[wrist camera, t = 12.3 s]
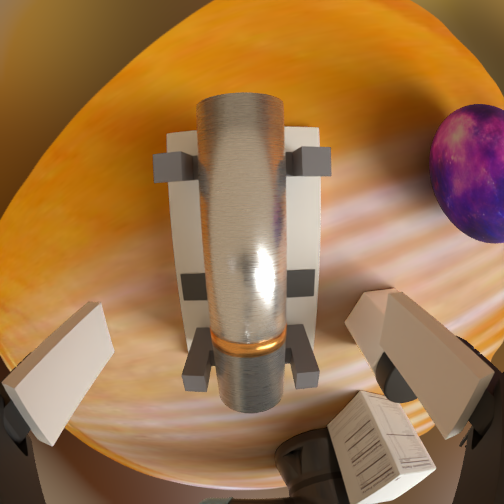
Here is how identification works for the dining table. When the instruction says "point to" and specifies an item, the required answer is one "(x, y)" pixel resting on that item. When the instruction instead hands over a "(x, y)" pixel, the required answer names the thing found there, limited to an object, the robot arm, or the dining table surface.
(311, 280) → the cradle stand
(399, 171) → the dining table surface
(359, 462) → the supplement box
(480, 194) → the decorative orb
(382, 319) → the jar
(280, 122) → the steel tube
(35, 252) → the dining table surface
